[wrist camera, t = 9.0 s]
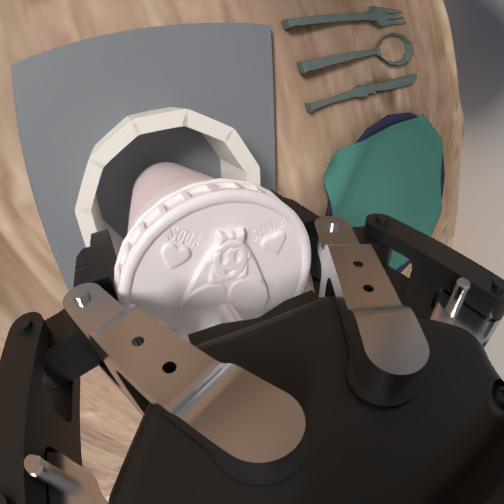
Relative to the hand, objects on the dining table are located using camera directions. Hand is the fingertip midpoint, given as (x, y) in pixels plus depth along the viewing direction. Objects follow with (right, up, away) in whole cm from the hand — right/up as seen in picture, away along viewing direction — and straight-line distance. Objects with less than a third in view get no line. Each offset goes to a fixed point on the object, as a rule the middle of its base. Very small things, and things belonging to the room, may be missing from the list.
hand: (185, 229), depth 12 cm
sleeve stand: (-3, +3, +6) cm, 7 cm away
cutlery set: (+15, +8, +14) cm, 22 cm away
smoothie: (-2, +2, +4) cm, 5 cm away
